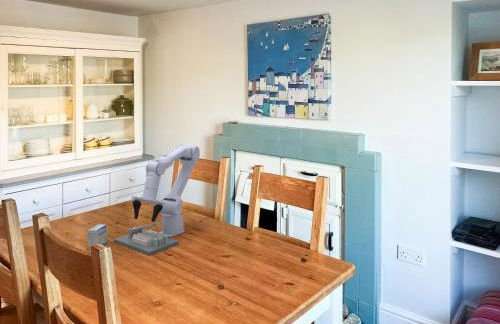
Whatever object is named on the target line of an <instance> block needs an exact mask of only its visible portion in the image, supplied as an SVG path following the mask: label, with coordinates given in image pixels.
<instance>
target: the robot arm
mask: <svg viewBox="0 0 500 324" xmlns="http://www.w3.org/2000/svg"><path fill="white" fill-rule="evenodd" d="M200 156H201V150H200V147H199V146H198V145H189V144H188V145H187V144H186V145H185V144H179V145H178V146H176V149H175V150H173V151H172V152H171V153H170V154H166V153H164V154H162V156H161V157H159V158H156V160H154V161H152V160H151V161H149V162H148V163H147V165H145V172H146V175H145V177H146V178H145V182H144V183H145V184H144V187H143V188H144V189H143V194H142V196H137V195H132V196H131V198H130V201H132V203H131V204H132V207H133V212H134V214H133V215H134V217H133V219H134V220H137V219H138V218H139V213H140V209H141V206H142V204H150V205H153V210H152V217H151V220H150V221H151V222H152V223H155V222H156V220H157V217H158V216H159V214H160V216H161V225H162V226H161V227H162V230H161V231H158V232H159V233H162V234H163V235H167V237H168V238H171V237H174V236H177V235H179V234H183V233H185V231H186V230H184V217H183V215H182V214H181V212H182V209H183V204H184V202H183V200H182V198H181V197H182V194H183V192H184V190H185V187H186V186H187V183H188V182H189V179H190V178H191V176H192V173H193V170H194V169H195V166H196V165H197V163H198V160H199V158H200ZM177 160H179V163H180V164H181V165H182V167H181V168H180V170H179V173H178V174H177V176H176V179H175V181H174V183H173V185H172V187H171V190H170V191H169V193H167V194H165V195H163V197H162V198H161V200H157V197H158V192H159V186H160V182H161V177H162V176H163V175H164V174H165V172H166V171H167V169H169V168H171V167H172V166H173V164H174V161H177Z"/></svg>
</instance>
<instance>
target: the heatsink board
mask: <svg viewBox="0 0 500 324" xmlns="http://www.w3.org/2000/svg"><path fill="white" fill-rule="evenodd" d="M142 226H143V225H140V224H139V225H137V227H142ZM127 232H128V233H127V234H124V235H122V236H117V237H115V238H113V243H115V244H117V245H120V246H123V247H125V248H127V249H130V250H133V251H137V252H138V253H142V254H144V255H147V256H152V255H155V254H157V253H160V252H162V251H165V250H168V249H170V248H172V247H174V246H178V245H179V243H180V242H179V240H176V239H174V238H171V237H168V236H167V235H163V234H162V233H159V232H160V231H155V230H153V229H148V230H146V229H143V228H141V229H138V230H135V231H133V229H132V228H128V231H127Z"/></svg>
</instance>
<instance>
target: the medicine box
mask: <svg viewBox="0 0 500 324" xmlns="http://www.w3.org/2000/svg"><path fill="white" fill-rule="evenodd" d="M86 232H87V244H88V249H89V250H91V249H90V246H91V245H94V244H102V245H104V246H106V245H107V244H108V229H107V224H104V223H103V224H102V223H99V224H95V225H94V226H92V227H91V228H89V229H87V231H86Z"/></svg>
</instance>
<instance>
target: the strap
mask: <svg viewBox="0 0 500 324" xmlns="http://www.w3.org/2000/svg"><path fill="white" fill-rule="evenodd" d="M157 225H162V221H158V222H156V223H155V222H154V223H150V224H147V225H141V226H142V227H138V226H136V227H133V228H131V229H133V231H135V230H138V229H141V228H142V229H145V228H150V227H154V226H157Z"/></svg>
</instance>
